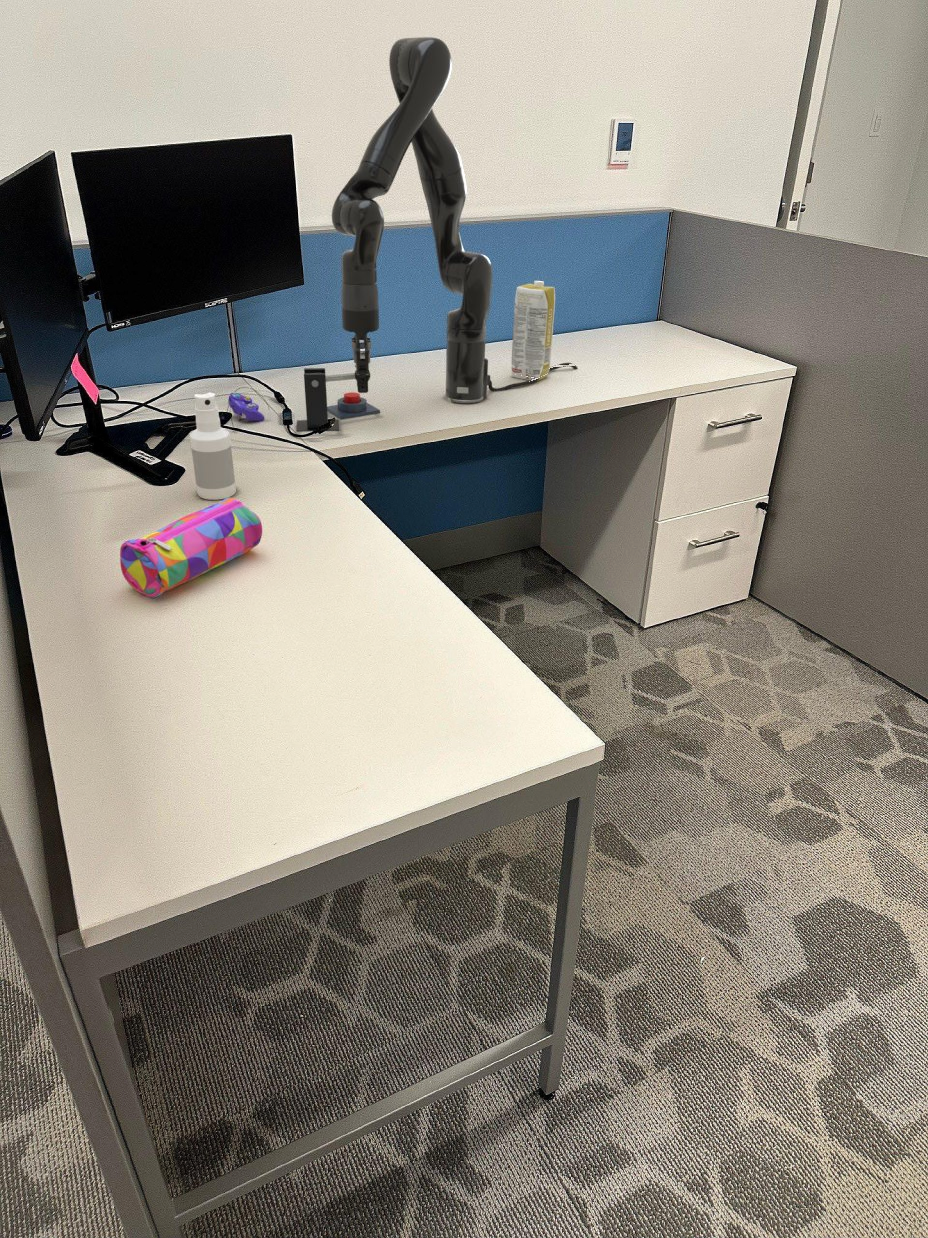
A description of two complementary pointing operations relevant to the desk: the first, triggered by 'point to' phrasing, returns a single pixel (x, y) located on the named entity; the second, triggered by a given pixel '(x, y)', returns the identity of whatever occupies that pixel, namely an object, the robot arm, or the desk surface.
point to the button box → (352, 409)
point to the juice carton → (532, 330)
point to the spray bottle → (211, 451)
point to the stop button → (351, 397)
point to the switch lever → (343, 376)
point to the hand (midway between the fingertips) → (362, 389)
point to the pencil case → (189, 547)
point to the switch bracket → (315, 401)
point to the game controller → (244, 407)
